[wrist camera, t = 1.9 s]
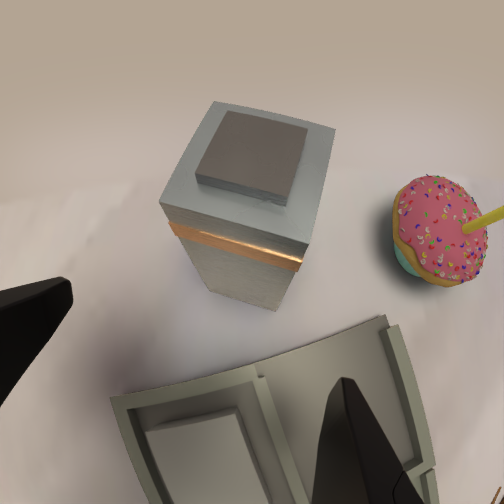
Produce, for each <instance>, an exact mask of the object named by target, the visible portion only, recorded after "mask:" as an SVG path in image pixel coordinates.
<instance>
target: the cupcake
mask: <svg viewBox="0 0 504 504" xmlns="http://www.w3.org/2000/svg"><path fill="white" fill-rule="evenodd" d="M426 175H427V174H426ZM457 184H458V183H457ZM457 184H456V183H454V182H452V181H450V180H448V179H445V177H440V176H428V175H427V176H424V177H420V178H416V179H414V180H413V181H411V182H410V183H409V184H408V185H406V186H405V187H403V188H402V189H401V190H400V191H399V192H398V194H397V195H396V197H395V200H394V205H393V212H392V223H393V240H394V251H395V255H396V257H397V260H398V262H399V263H400V265H401V266H402V267H403V268H404V269H405V270H406V271H407V272H408V273H410V274H412V275H414V276H417V277H422V278H423V279H424V280H426V281H427V282H429V283H431V284H434V285H439V286H443V287H452V286H455V285H459V284H462V283H464V282H466V281H470V280H472V279H473V278H476V277H477V276H476V275H477V274H479V270H480V269H481V268H482V267H483V265H482V264H483V260H484V258H485V256H486V255H485V252H486V249H487V248H488V245H487V239H488V237H487V231H486V229H487V227H485V226H487V225H489V224H492V223H494V222H496V221H498V220H501V219H503V218H504V206H502V207H500V208H498V209H496V210H494V211H492V212H489V213H487V214H485V215H483V216H482V214H481V212H480V210H479V209H478V207H477V205H476V203H475V202H474V199H473V197H470V195H469V194H468V193H467V192H466V191H465V190H464V188H463V187H460V186H459V184H458V185H457ZM486 247H487V248H486ZM481 266H482V267H481Z"/></svg>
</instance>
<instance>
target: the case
mask: <svg viewBox="0 0 504 504" xmlns="http://www.w3.org/2000/svg"><path fill="white" fill-rule="evenodd" d="M340 377H347V378H351V379H354V380H355V382H356V383H357V385H358V387H359V389H360V390H361V392H362V394H363V396H364V397H365V399H366V401H367V403H368V404H369V406H370V408H371V410H372V411H373V413H374V415H375V417H376V419H377V420H378V422H379V424H380V426H381V427H382V429H383V431H384V433H385V435H386V436H387V438H388V440H389V442H390V444H391V445H392V447H393V449H394V451H395V453H396V454H397V456H398V458H399V460H400V462H401V464H402V465H403V467H404V470H405V471H406V473H407V474H408V476H409V478H410V480H411V482H412V483H413V485H414V487H415V489H416V490H417V492H418V494H419V495H420V497H421V498H422V500H423V501H424V503H425V504H439V496H438V489H437V483H436V476H435V470H434V469H433V468H432V467H433V466H435V465H436V463H435V457H434V452H433V447H432V442H431V437H430V433H429V428H428V424H427V420H426V416H425V412H424V408H423V404H422V400H421V396H420V392H419V389H418V385H417V382H416V378H415V375H414V371H413V368H412V365H411V361H410V358H409V355H408V352H407V349H406V346H405V343H404V340H403V337H402V334H401V331H400V328H399V325H398V324H397V325H394V326H391V327H390V326H389V323H388V320H387V317H386V315H385V314H384V315H382V316H379V317H377V318H375V319H372V320H370V321H368V322H365V323H363V324H361V325H358V326H356V327H353V328H351V329H348V330H346V331H343V332H341V333H338V334H336V335H333V336H330V337H328V338H325V339H323V340H320V341H317V342H314V343H312V344H309V345H306V346H303V347H301V348H298V349H295V350H292V351H289V352H286V353H283V354H280V355H277V356H274V357H271V358H268V359H265V360H261V361H258V362H255V363H252V364H248V365H245V366H242V367H238V368H235V369H231V370H228V371H224V372H220V373H217V374H213V375H209V376H205V377H201V378H197V379H193V380H189V381H185V382H181V383H177V384H172V385H168V386H163V387H159V388H154V389H149V390H144V391H139V392H134V393H128V394H123V395H118V396H114V397H110V400H111V404H112V407H113V410H114V414H115V417H116V420H117V423H118V426H119V429H120V432H121V435H122V438H123V440H124V443H125V446H126V449H127V451H128V454H129V457H130V459H131V462H132V464H133V467H134V469H135V472H136V474H137V476H138V479H139V481H140V483H141V486H142V488H143V490H144V492H145V494H146V497H147V499H148V501H149V503H150V504H311V500H312V493H313V485H314V477H315V468H316V459H317V449H318V442H319V437H320V432H321V428H322V423H323V418H324V413H325V408H326V403H327V398H328V395H329V393H330V392H331V390H332V388H333V387H334V385H335V384H336V382H337V381H338V379H339V378H340Z"/></svg>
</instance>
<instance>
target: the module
mask: <svg viewBox="0 0 504 504" xmlns="http://www.w3.org/2000/svg"><path fill="white" fill-rule="evenodd" d="M335 130H336V129H333V128H330V127H326V126H323V125H319V124H316V123H312V122H309V121H304V120H301V119H297V118H293V117H289V116H285V115H281V114H277V113H272V112H268V111H263V110H258V109H254V108H249V107H244V106H238V105H233V104H228V103H222V102H216V101H214V102H213V104H212V105H211V107H210V108H209V110H208V112H207V113H206V115H205V117H204V118H203V120H202V122H201V123H200V125H199V127H198V129H197V130H196V132H195V134H194V136H193V137H192V139H191V141H190V143H189V144H188V146H187V148H186V150H185V152H184V153H183V155H182V157H181V159H180V161H179V163H178V164H177V166H176V168H175V170H174V172H173V174H172V176H171V178H170V180H169V181H168V183H167V185H166V187H165V189H164V191H163V193H162V195H161V197H160V199H159V203H160V205H161V207H162V209H163V210H164V212H165V214H166V216H167V218H168V220H169V225H170V227H171V229H172V231H173V232H174V234H175V236H178V238H179V239H180V241H181V243H182V245H183V246H184V248H185V250H186V252H187V253H188V255H189V257H190V259H191V260H192V262H193V264H194V266H195V267H196V269H197V271H198V272H199V274H200V276H201V277H202V279H203V281H204V283H205V284H206V286H207V288H208V289H209V291H212V292H215V293H218V294H221V295H224V296H227V297H230V298H233V299H237V300H240V301H243V302H246V303H249V304H253V305H256V306H259V307H262V308H266V309H269V310H272V311H276V310H277V308H278V306H279V304H280V302H281V300H282V298H283V296H284V294H285V292H286V290H287V288H288V286H289V284H290V282H291V280H292V278H293V276H294V274H295V272H298V270H299V268H300V266H301V264H302V261H303V257H304V254H305V252H306V250H307V247H308V245H309V243H310V239H311V235H312V231H313V227H314V223H315V219H316V215H317V211H318V207H319V202H320V198H321V194H322V190H323V186H324V181H325V177H326V172H327V168H328V163H329V159H330V154H331V149H332V145H333V140H334V135H335Z"/></svg>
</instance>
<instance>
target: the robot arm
mask: <svg viewBox="0 0 504 504" xmlns="http://www.w3.org/2000/svg"><path fill="white" fill-rule="evenodd" d="M72 304H73V294H72V286H71V282H70V281H69V280H68V279H66V278H64V277H56V278H51V279H47V280H43V281H39V282H35V283H30V284H26V285H22V286H18V287H14V288H10V289H6V290H2V291H0V407H1V405H2V404H3V402H4V401H5V399H6V398H7V396H8V395H9V393H10V392H11V391H12V389H13V388H14V386H15V385H16V383H17V382H18V381H19V379H20V378H21V376H22V375H23V374H24V372H25V371H26V370H27V368H28V367H29V366H30V364H31V363H32V362H33V360H34V359H35V358H36V356H37V355H38V354H39V352H40V351H41V350H42V349H43V347H44V346H45V345H46V343H47V342H48V341H49V339H50V338H51V337H52V335H53V334H54V332H55V331H56V329H57V328H58V326H59V325H60V323H61V322H62V320H63V319H64V317H65V316H66V314H67V313H68V311H69V310H70V308H71V307H72ZM311 504H425V503H424V501H423V500H422V498H421V497H420V495H419V494H418V492H417V490H416V489H415V487H414V485H413V483H412V482H411V480H410V478H409V476H408V474H407V473H406V471H405V470H404V467H403V465H402V464H401V462H400V460H399V458H398V456H397V454H396V453H395V451H394V449H393V447H392V445H391V444H390V442H389V440H388V438H387V436H386V435H385V433H384V431H383V429H382V427H381V426H380V424H379V422H378V420H377V419H376V417H375V415H374V413H373V411H372V410H371V408H370V406H369V404H368V403H367V401H366V399H365V397H364V396H363V394H362V392H361V390H360V389H359V387H358V385H357V383H356V382H355V380H354V379H351V378H347V377H340V378H339V379H338V381H337V382H336V384H335V385H334V387H333V388H332V390H331V392H330V393H329V395H328V398H327V403H326V408H325V413H324V418H323V423H322V428H321V432H320V437H319V442H318V449H317V459H316V468H315V477H314V485H313V493H312V500H311Z"/></svg>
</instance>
